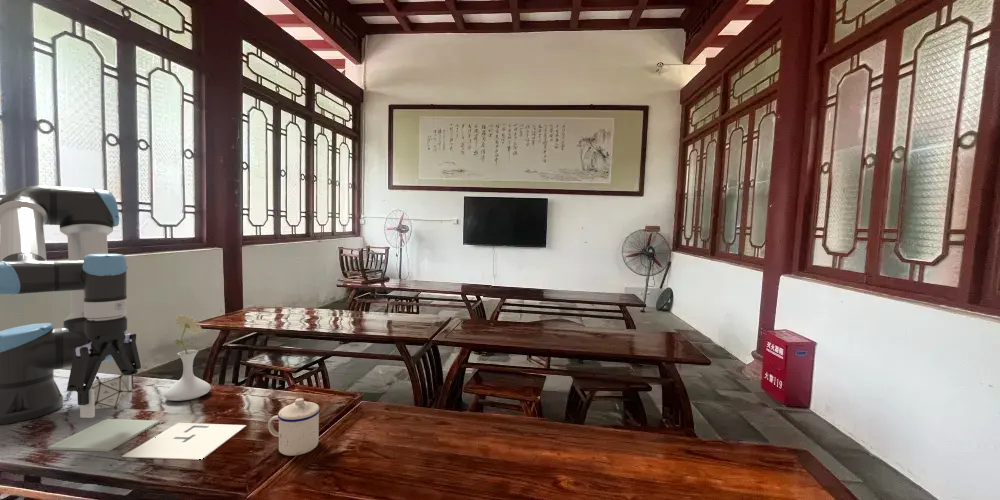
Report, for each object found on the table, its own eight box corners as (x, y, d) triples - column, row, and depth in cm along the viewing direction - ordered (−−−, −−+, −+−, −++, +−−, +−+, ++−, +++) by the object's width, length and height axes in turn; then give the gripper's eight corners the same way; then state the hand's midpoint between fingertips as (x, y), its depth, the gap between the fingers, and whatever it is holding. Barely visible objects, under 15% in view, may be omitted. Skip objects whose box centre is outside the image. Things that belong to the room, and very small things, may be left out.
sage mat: (47, 449, 93) (47, 446, 93) (106, 421, 107) (106, 418, 107) (108, 451, 93) (108, 449, 93) (159, 422, 107) (159, 420, 107)
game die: (106, 426, 98) (91, 404, 92) (80, 410, 100) (63, 388, 94) (144, 397, 106) (132, 374, 100) (119, 382, 107) (106, 360, 101)
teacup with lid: (326, 437, 103) (326, 392, 102) (308, 457, 93) (308, 408, 93) (279, 435, 103) (279, 390, 102) (256, 455, 94) (257, 406, 93)
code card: (121, 457, 91) (121, 456, 91) (178, 423, 107) (178, 422, 107) (201, 460, 91) (201, 458, 91) (246, 425, 107) (246, 425, 107)
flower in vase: (217, 395, 126) (218, 315, 124) (173, 408, 116) (172, 321, 115) (198, 385, 132) (198, 309, 131) (155, 396, 123) (154, 315, 122)
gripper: (75, 327, 88) (76, 429, 89) (158, 309, 110) (159, 391, 111) (40, 326, 88) (42, 428, 89) (131, 308, 110) (132, 390, 111)
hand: (107, 408), depth 100 cm, fingers closed on game die, 9 cm apart
